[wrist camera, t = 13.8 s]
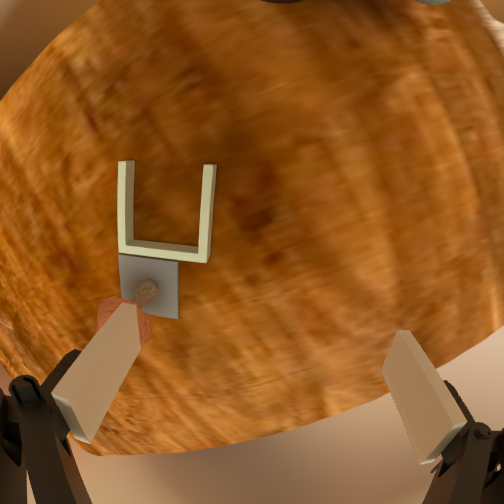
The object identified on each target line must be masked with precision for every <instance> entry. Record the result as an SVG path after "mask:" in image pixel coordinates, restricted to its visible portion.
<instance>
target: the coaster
mask: <svg viewBox="0 0 504 504" xmlns="http://www.w3.org/2000/svg"><path fill="white" fill-rule="evenodd" d="M118 259H119V274H120V286H121V296H122V298H125V299H127V300H129V301H131V300H132V298H133V296H134V294H135V293H136V291H137V289H138V287H139V286H140V284H141V283H143V282H144V281H146V280H148V279H149V280H153V281H155V283H156V284H157V287H158V290H157V294H156V295H155V296H154V297H153V298H152V299H151V300H150V301H149V302H148V303H147V304H146V305H145V306H144V307H143V308H142V311H143V312H144V313H145V314H150V315H155V316H161V317H167V318H174V319H178V318H179V260H173V259H164V258H156V257H148V256H140V255H133V254H125V253H120V254H118Z"/></svg>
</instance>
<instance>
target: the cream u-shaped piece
mask: <svg viewBox="0 0 504 504" xmlns="http://www.w3.org/2000/svg"><path fill="white" fill-rule="evenodd" d="M216 168H217V165H216V164H205V165H204V169H203V182H202V195H201V210H200V227H199V247H198V246H188V245H179V244H170V243H161V242H152V241H143V240H134V231H133V202H134V170H135V161H119V164H118V245H119V252H120V253H128V254H136V255H144V256H151V257H160V258H168V259H176V260H184V261H193V262H201V263H207V261H208V259H209V257H210V248H211V233H212V218H213V204H214V192H215V180H216Z"/></svg>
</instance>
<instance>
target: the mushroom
mask: <svg viewBox="0 0 504 504" xmlns="http://www.w3.org/2000/svg"><path fill="white" fill-rule="evenodd" d="M157 290H158V287H157V284H156V283H155V281H153V280H149V279H148V280H146V281H144V282H143V283H141V284H140V286H139V287H138V289H137V291H136V293H135V294H134V296H133V298H132V300H131V301H129V300H127V299H125V298H121V297H109V298H106V299H105V300H103V301H102V302H101V304H100V306H99V309H98V315H97V328H98V331H99V330H100V328H101V327H102V326H103V325H104V324H105V322H106V321H107V320H108V319H109V317H110V316H111V315H112V314H113V313H114V311H115V310H116V309H117V308H118V307H119V306H120V304H121V303H122V302H124V303H129V304H135V305H136V310H137V320H138V329H139V338H140V345H143V344H144V343H146V342H147V341H148V340H149V339H150V336H151V332H152V329H151V324H150V321H149V319H148V317H147V316H146V314H145V313H144V312H143V311H142V308H143V307H144V306H145V305H146V304H147V303H148V302H149V301H150V300H151V299H152V298H153V297H154V296H155V295H156V294H157Z"/></svg>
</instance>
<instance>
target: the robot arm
mask: <svg viewBox="0 0 504 504" xmlns="http://www.w3.org/2000/svg"><path fill="white" fill-rule="evenodd" d="M263 1H268V2H277V3H290V2H297V1H302V0H263ZM417 1H418V2H421V3H423V4H430V5H439V4H443V3H446V2H449V1H451V0H417ZM140 350H141V345H140V338H139V329H138V320H137V310H136V305H135V304H129V303H124V302H122V303H121V304H120V306H119V307H118V308H117V309H116V310H115V311H114V313H113V314H112V315H111V316H110V317H109V319H108V320H107V321H106V322H105V324H104V325H103V326H102V327H101V328H100V330H99V331H98V332H97V333H96V335H95V336H94V337H93V338H92V340H91V341H90V342H89V343H88V345H87V346H86V347H85V348H84V350H83V351H80V350H76V349H74V350H72V351H71V352H69V353H67V354H66V355H65V356H64V357H63V358H62V360H61V361H60V363H59V364H58V365H57V366H56V367H55V370H53V371H52V372H51V373H50V375H49V376H48V377H47V378H46V380H45V381H44V382H43V384H42V385H41V386H40V385H39V383H38V381H37V379H35V378H34V377H33V376H30V375H21V376H18V377H16V378H15V379H13V380H12V382H11V383H10V385H9V392H10V394H11V396H7V395H4V393H3V391H2V389H1V388H0V504H27V483H26V482H27V480H26V477H27V471H28V475H29V480H30V484H31V487H32V491H33V494H34V498H35V501H36V504H92V502H91V499H90V497H89V495H88V493H87V490H86V488H85V485H84V483H83V480H82V478H81V476H80V473H79V470H78V467H77V465H76V462H75V459H74V456H73V453H72V450H71V447H70V444H69V441H68V439H67V437H66V436H67V434H68V432H69V431H71V433H72V435H73V436H74V438H76V439H78V440H81V441H83V442H86V443H88V444H91V442H92V440H93V438H94V436H95V434H96V432H97V430H98V428H99V426H100V424H101V422H102V420H103V418H104V416H105V414H106V412H107V410H108V409H109V407H110V405H111V403H112V401H113V399H114V397H115V395H116V393H117V391H118V390H119V388H120V386H121V384H122V382H123V380H124V378H125V377H126V375H127V373H128V371H129V369H130V367H131V366H132V364H133V362H134V360H135V358H136V357H137V355H138V353H139V351H140ZM381 372H382V375H383V377H384V379H385V381H386V384H387V386H388V388H389V390H390V393H391V395H392V397H393V400H394V402H395V404H396V407H397V409H398V411H399V413H400V416H401V418H402V421H403V423H404V426H405V428H406V431H407V433H408V436H409V438H410V441H411V443H412V446H413V448H414V451H415V453H416V456H417V459H418V462H419V464H420V465H422V464H426V463H429V462H433V461H434V460H435V459H436V458H437V457H438V456H439V455H440V454H441V455H442V457H443V459H442V460H441V461H440V462H439V463H438V464H437V465H436V466H435V467H434V468H433V469H432V471H431V473H433V472H434V471H435V470H436V469H437V471H436V473H435V476H434V478H433V480H432V483H431V485H430V488H429V490H428V492H427V495H426V497H425V499H424V501H423V503H422V504H504V428H503V429H502V430H501V431H491V429H490V428H489V427H488V426H487V425H486V424H484V423H480V422H477V423H476V422H475V421H474V419H473V417H472V415H471V414H470V412H469V410H468V409H467V407H466V406H465V404H464V402H462V399H461V397H460V396H458V393H457V391H456V389H455V388H454V387H453V386H452V385H451V384H450V383H448V381H446V380H445V381H443V380H442V379H441V377H440V375H439V374H438V372H437V371H436V369H435V368H434V366H433V365H432V363H431V361H430V360H429V358H428V357H427V355H426V354H425V352H424V351H423V349H422V348H421V347H420V345H419V344H418V342H417V341H416V339H415V338H414V336H413V335H412V334H411V332H410V331H409V330H397V332H396V335H395V338H394V340H393V343H392V345H391V347H390V350H389V352H388V355H387V357H386V359H385V362H384V364H383V366H382V368H381ZM499 464H500V465H501V466H500V467H501V469H500V470H499V471H497V466H498V465H499Z"/></svg>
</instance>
